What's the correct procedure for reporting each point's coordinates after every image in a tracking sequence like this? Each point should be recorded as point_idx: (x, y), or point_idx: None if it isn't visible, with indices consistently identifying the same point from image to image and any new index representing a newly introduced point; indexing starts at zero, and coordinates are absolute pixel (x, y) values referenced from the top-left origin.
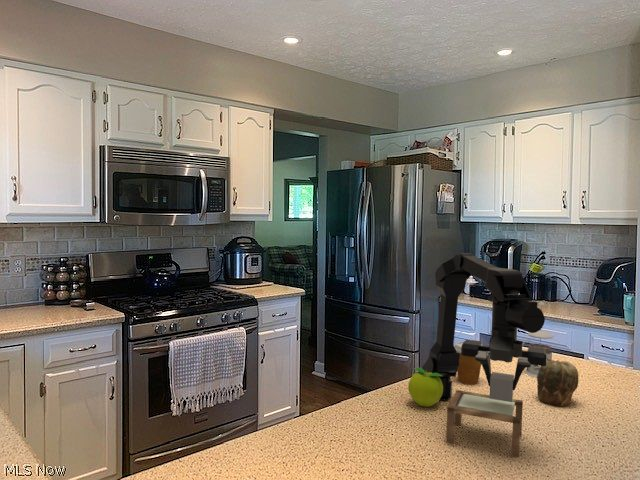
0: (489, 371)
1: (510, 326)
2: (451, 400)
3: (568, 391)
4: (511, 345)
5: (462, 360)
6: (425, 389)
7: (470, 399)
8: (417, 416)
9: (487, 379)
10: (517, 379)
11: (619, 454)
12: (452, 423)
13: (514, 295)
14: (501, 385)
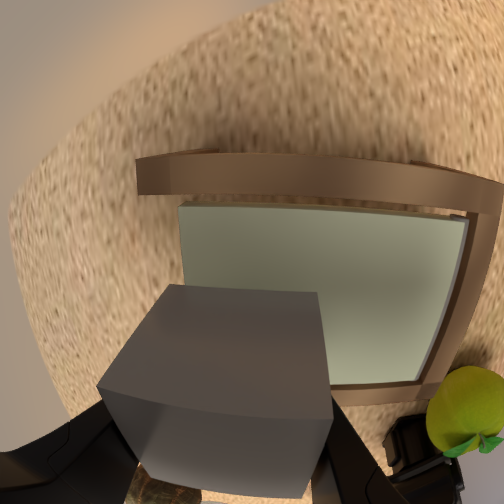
0: (339, 489)
1: None
2: (483, 281)
3: (141, 467)
4: None
5: None
6: (487, 389)
7: (400, 335)
8: (485, 310)
9: (346, 423)
10: (87, 416)
11: (31, 282)
12: (447, 169)
13: None
14: (215, 363)
